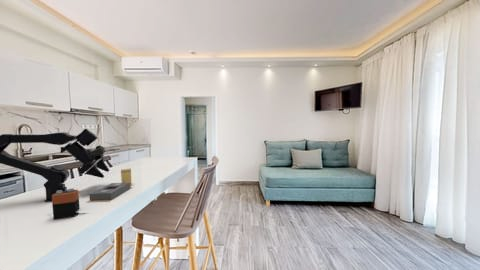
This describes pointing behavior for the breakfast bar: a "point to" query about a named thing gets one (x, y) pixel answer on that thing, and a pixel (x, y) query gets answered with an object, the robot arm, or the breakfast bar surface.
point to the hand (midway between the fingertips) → (106, 174)
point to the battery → (65, 203)
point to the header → (109, 192)
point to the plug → (126, 176)
